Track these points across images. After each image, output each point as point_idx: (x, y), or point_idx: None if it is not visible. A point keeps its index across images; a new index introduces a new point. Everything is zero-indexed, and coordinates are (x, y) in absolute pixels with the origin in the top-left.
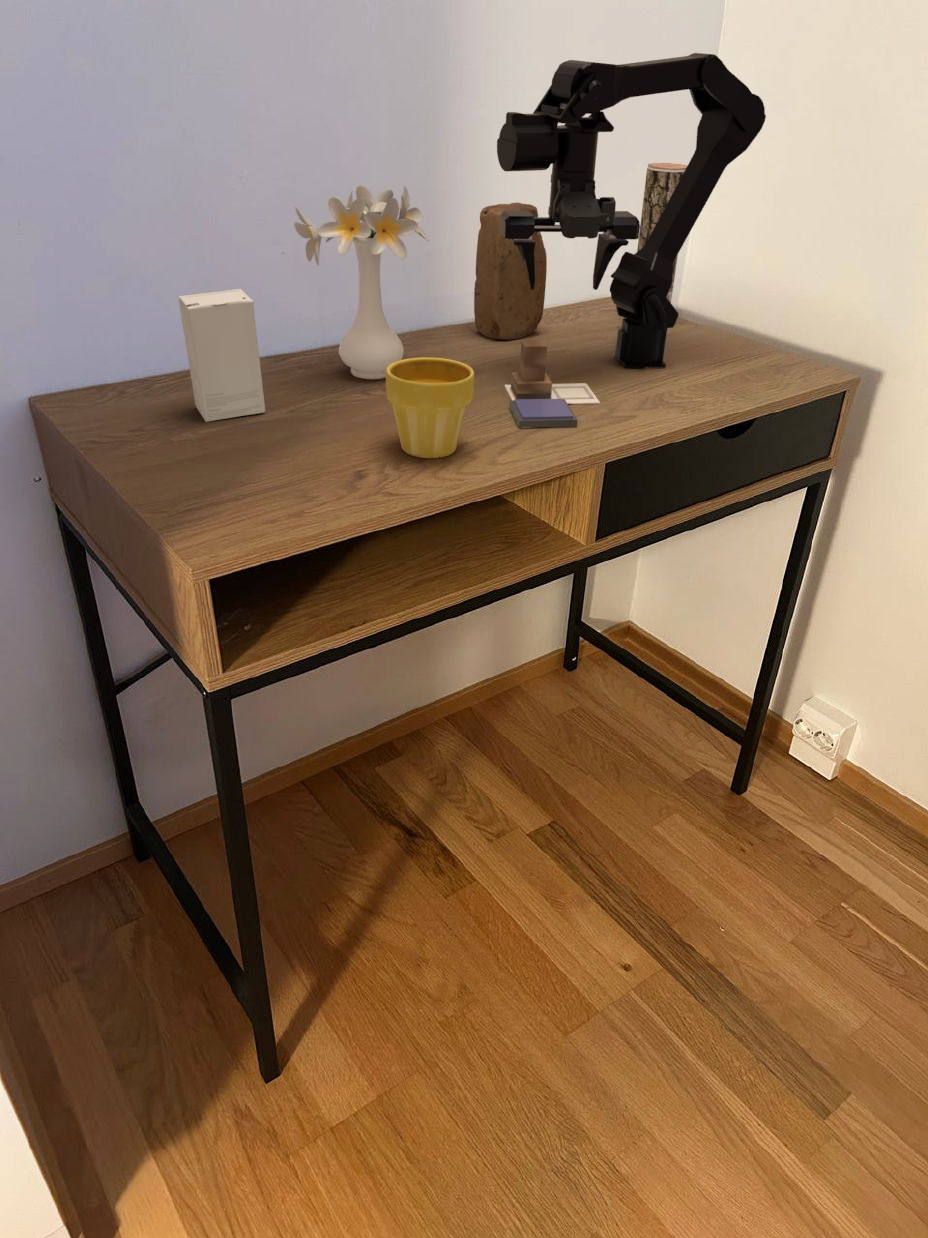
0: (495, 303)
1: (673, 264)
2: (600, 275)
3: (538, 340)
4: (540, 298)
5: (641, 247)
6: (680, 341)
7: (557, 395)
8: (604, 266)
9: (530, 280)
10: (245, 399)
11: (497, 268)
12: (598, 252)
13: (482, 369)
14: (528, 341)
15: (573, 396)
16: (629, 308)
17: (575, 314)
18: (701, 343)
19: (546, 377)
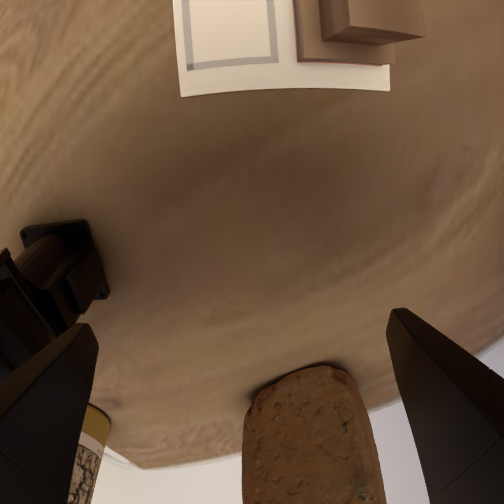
0: (355, 413)
1: None
2: (40, 358)
3: (367, 19)
4: (252, 440)
5: (79, 502)
6: None
7: (271, 4)
8: (7, 386)
9: (432, 329)
10: None
11: (368, 473)
12: (47, 478)
13: (409, 208)
14: (403, 16)
15: (230, 2)
16: (24, 300)
17: (185, 443)
18: None
19: (307, 14)
